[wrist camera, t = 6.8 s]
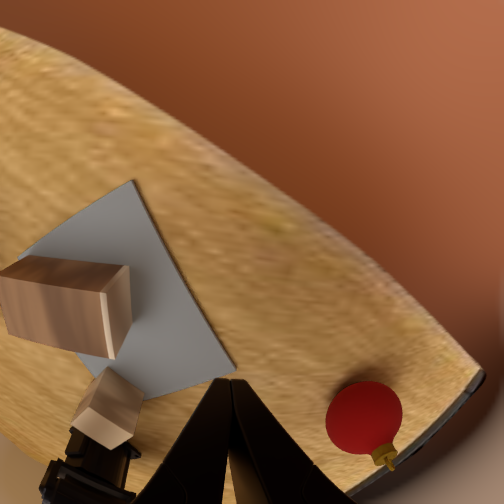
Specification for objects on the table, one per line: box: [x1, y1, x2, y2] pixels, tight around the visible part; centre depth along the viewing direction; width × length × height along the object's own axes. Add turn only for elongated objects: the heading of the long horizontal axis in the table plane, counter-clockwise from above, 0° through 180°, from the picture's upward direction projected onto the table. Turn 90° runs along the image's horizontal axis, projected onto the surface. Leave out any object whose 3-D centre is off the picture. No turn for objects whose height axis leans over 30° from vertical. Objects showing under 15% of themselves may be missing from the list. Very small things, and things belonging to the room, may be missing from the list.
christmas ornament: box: [326, 381, 402, 471], centre depth 19 cm, size 7×7×10 cm
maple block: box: [71, 366, 145, 450], centre depth 19 cm, size 4×4×5 cm
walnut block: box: [0, 255, 133, 360], centre depth 16 cm, size 4×4×9 cm
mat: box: [17, 180, 236, 401], centre depth 19 cm, size 16×12×1 cm
